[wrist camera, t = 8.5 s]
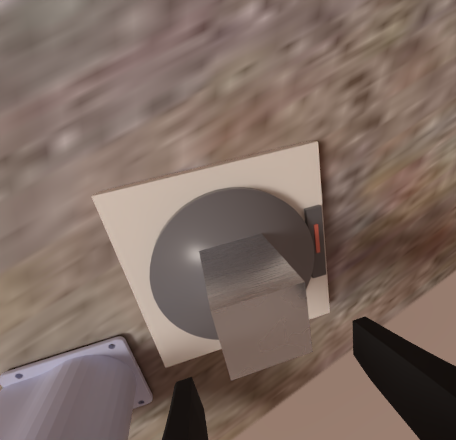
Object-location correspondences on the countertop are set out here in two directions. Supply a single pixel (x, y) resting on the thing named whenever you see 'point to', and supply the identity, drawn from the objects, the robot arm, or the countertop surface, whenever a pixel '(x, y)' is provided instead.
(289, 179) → the kitchen scale
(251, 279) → the block
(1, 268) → the countertop surface
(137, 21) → the countertop surface
